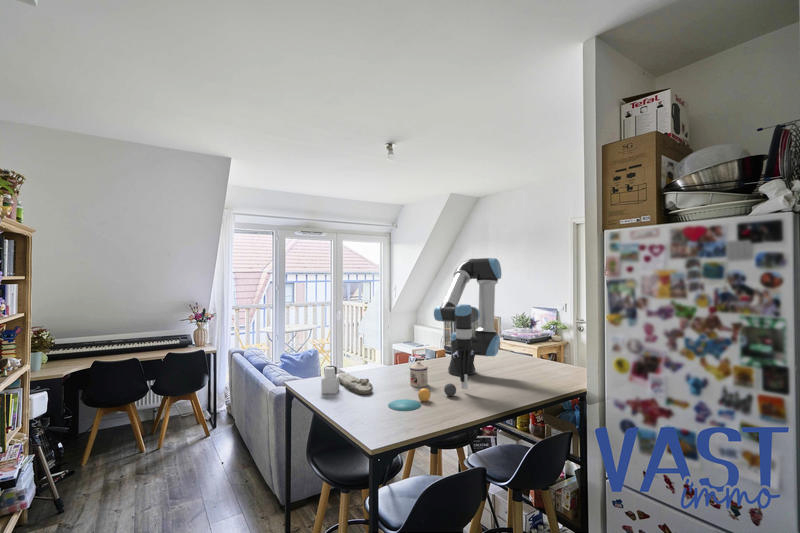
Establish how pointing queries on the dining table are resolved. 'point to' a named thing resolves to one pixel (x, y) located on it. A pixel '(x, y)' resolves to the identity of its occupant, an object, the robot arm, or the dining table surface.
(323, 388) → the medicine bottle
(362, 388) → the long grey stone
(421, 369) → the teacup with lid
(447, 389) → the dark grey ball
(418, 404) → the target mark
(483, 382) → the dining table surface
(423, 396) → the object ball
